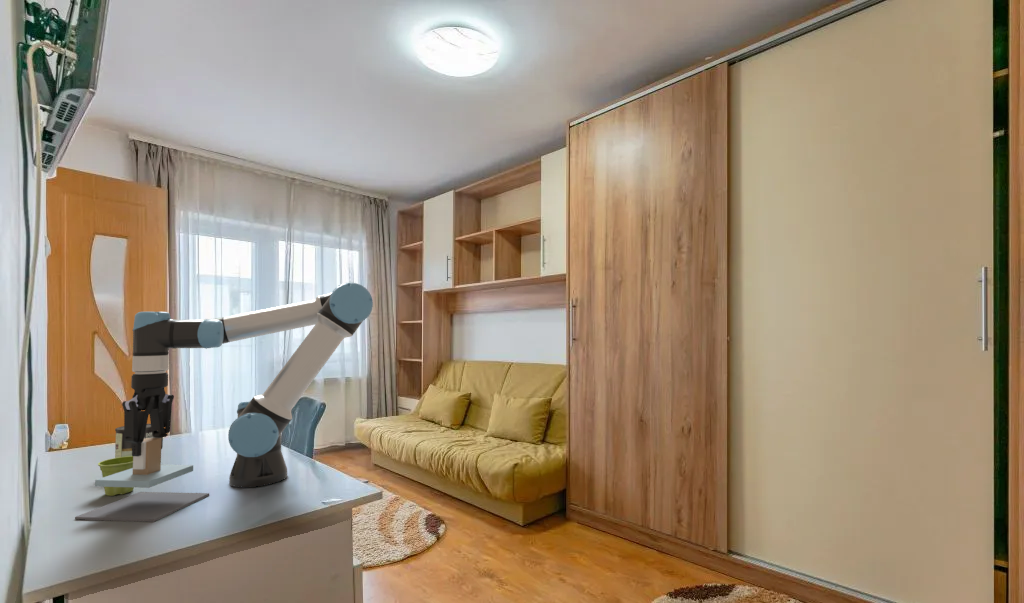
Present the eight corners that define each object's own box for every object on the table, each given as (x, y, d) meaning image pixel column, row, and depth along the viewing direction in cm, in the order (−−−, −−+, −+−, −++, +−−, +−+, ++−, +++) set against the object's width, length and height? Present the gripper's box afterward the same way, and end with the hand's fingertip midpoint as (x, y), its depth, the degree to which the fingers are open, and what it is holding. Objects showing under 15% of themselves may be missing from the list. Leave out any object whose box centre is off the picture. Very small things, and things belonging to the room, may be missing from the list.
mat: (209, 495, 132) (209, 493, 132) (154, 521, 114) (154, 519, 114) (139, 494, 134) (140, 491, 134) (74, 519, 116) (75, 516, 116)
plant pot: (116, 499, 130) (117, 465, 130) (87, 497, 132) (88, 464, 132) (149, 488, 139) (150, 456, 139) (121, 486, 141) (122, 455, 141)
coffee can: (163, 467, 160) (164, 423, 160) (133, 477, 149) (135, 430, 150) (135, 466, 161) (136, 423, 162) (104, 476, 151) (106, 429, 152)
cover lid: (193, 470, 130) (194, 434, 131) (149, 487, 116) (150, 446, 117) (144, 469, 132) (145, 433, 132) (94, 486, 118) (96, 445, 118)
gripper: (163, 369, 134) (160, 457, 133) (106, 375, 117) (102, 475, 116) (189, 369, 134) (186, 457, 132) (135, 375, 117) (131, 476, 115)
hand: (147, 466), depth 124 cm, fingers closed on cover lid, 4 cm apart
